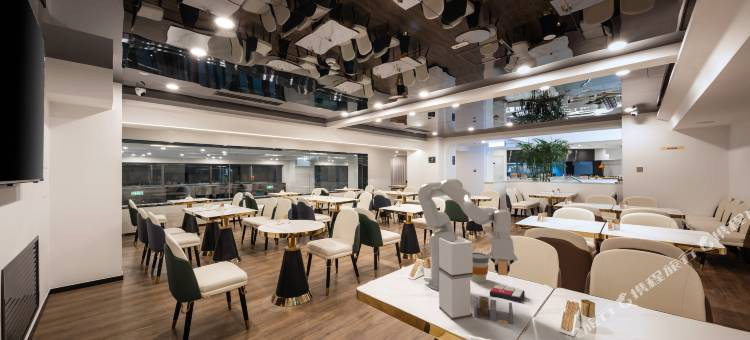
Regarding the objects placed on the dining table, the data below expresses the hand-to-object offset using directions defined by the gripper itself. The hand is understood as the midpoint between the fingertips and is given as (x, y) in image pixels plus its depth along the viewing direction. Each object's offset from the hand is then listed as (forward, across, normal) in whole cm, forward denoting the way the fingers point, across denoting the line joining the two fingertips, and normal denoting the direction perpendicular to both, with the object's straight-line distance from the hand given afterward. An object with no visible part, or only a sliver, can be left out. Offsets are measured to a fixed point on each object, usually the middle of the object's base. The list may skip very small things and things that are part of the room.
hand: (502, 272), depth 145 cm
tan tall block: (+1, 0, 0) cm, 1 cm away
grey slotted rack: (+17, -5, -12) cm, 22 cm away
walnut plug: (+16, -9, -11) cm, 22 cm away
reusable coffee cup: (+17, -10, +33) cm, 38 cm away
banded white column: (+17, -22, -14) cm, 31 cm away
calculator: (+18, +4, +13) cm, 22 cm away
